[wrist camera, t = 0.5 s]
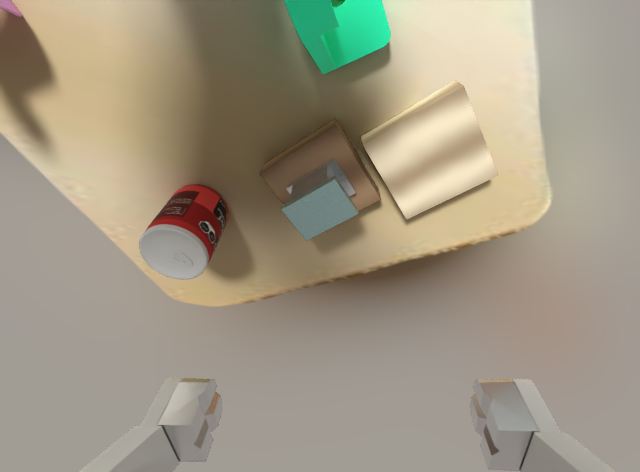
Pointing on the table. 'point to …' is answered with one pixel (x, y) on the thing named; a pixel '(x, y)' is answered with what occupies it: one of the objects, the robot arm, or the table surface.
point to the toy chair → (9, 7)
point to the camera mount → (339, 29)
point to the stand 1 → (316, 153)
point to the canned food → (185, 232)
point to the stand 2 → (431, 151)
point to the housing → (320, 200)
